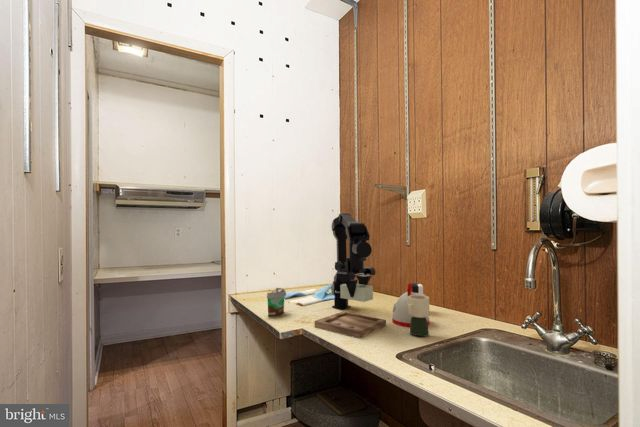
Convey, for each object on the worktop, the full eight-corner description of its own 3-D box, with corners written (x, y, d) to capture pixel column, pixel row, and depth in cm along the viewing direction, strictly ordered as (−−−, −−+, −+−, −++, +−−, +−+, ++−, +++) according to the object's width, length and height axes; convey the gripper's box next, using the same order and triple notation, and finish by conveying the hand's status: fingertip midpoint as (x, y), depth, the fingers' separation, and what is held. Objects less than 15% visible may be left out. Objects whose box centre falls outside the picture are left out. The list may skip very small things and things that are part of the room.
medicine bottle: (406, 313, 146) (406, 284, 146) (408, 309, 152) (408, 282, 153) (424, 314, 143) (423, 285, 143) (425, 310, 150) (425, 283, 150)
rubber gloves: (269, 298, 179) (269, 286, 179) (315, 289, 201) (315, 278, 201) (302, 307, 159) (302, 293, 159) (349, 297, 181) (349, 284, 181)
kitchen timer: (389, 325, 128) (388, 285, 129) (395, 316, 141) (394, 279, 142) (427, 329, 123) (427, 287, 124) (430, 319, 136) (429, 281, 137)
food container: (281, 318, 139) (281, 293, 140) (266, 317, 140) (266, 293, 141) (289, 310, 151) (289, 288, 152) (276, 310, 153) (276, 287, 153)
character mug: (420, 329, 123) (419, 293, 124) (437, 334, 118) (436, 296, 118) (400, 335, 117) (399, 297, 117) (417, 341, 111) (417, 300, 112)
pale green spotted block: (349, 295, 137) (349, 282, 137) (372, 299, 130) (372, 285, 130) (340, 297, 133) (340, 284, 133) (364, 302, 126) (364, 288, 126)
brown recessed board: (343, 316, 141) (343, 311, 141) (386, 325, 128) (386, 319, 128) (314, 326, 127) (314, 320, 127) (359, 338, 114) (359, 331, 114)
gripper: (353, 252, 144) (353, 289, 144) (324, 255, 130) (325, 297, 130) (375, 253, 137) (376, 292, 136) (348, 257, 123) (349, 301, 122)
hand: (356, 295), depth 131 cm, fingers closed on pale green spotted block, 6 cm apart
